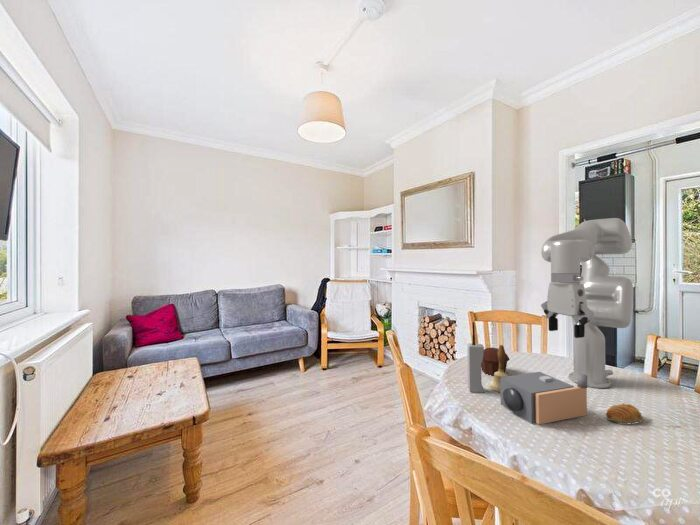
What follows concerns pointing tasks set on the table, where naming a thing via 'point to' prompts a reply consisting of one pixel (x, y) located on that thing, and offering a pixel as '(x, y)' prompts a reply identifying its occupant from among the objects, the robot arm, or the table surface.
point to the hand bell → (499, 371)
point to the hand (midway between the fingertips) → (565, 333)
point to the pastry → (624, 414)
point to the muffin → (492, 361)
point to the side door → (562, 402)
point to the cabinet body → (527, 392)
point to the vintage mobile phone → (475, 365)
